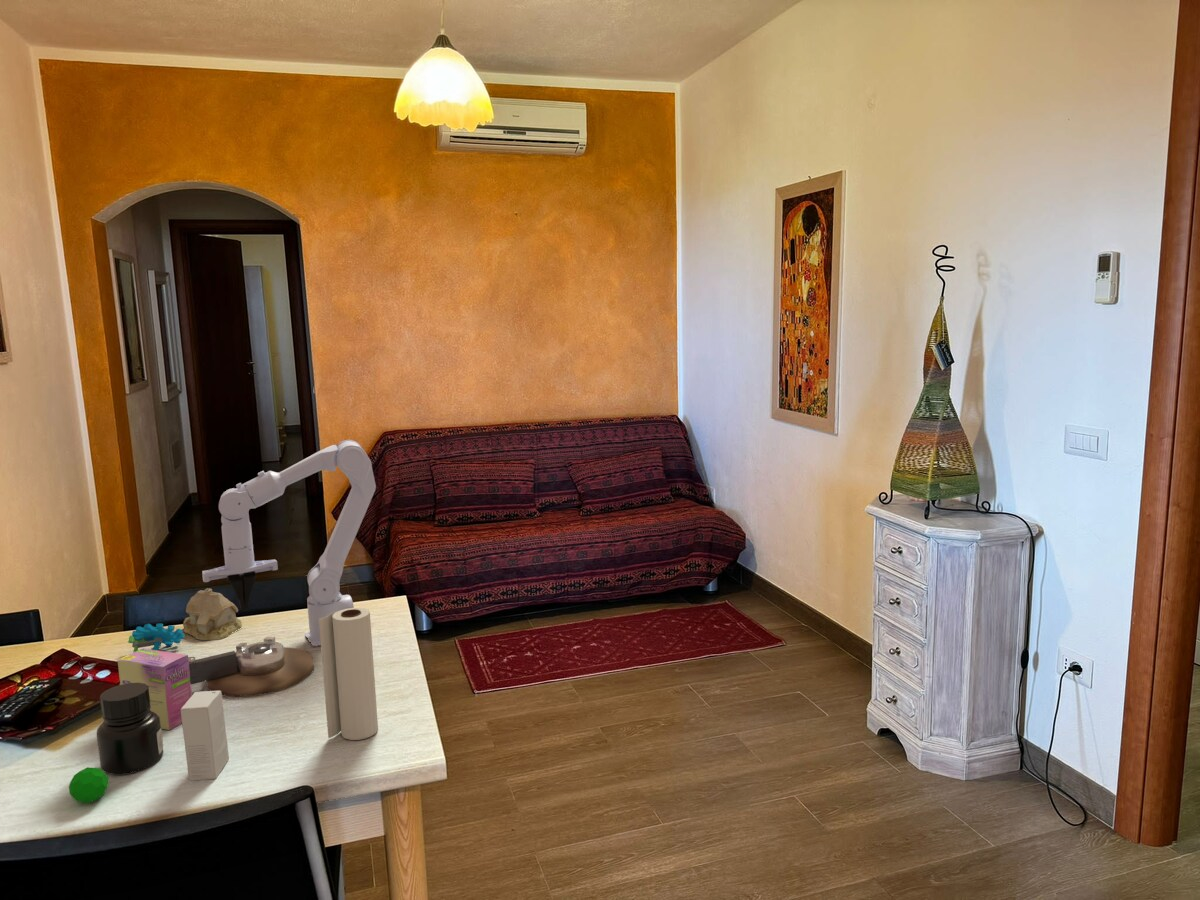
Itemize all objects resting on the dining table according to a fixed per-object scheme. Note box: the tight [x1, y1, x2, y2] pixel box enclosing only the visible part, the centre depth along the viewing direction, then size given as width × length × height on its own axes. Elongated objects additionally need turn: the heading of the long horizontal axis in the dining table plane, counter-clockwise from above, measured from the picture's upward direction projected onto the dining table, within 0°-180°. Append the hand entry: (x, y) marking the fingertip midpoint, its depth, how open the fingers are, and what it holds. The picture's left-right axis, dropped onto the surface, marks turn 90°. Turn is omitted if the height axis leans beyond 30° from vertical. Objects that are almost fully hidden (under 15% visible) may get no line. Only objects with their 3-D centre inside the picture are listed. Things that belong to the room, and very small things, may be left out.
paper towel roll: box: [319, 607, 379, 741], centre depth 143 cm, size 7×6×21 cm
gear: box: [128, 623, 185, 653], centre depth 180 cm, size 11×6×10 cm
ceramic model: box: [182, 587, 243, 641], centre depth 193 cm, size 14×11×10 cm
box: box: [117, 648, 193, 731], centre depth 150 cm, size 10×6×12 cm, turn 71°
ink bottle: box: [96, 683, 164, 775], centre depth 136 cm, size 10×9×12 cm
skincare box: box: [181, 690, 230, 782], centre depth 132 cm, size 6×4×12 cm
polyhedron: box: [68, 766, 110, 804], centre depth 126 cm, size 5×5×5 cm
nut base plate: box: [205, 646, 315, 697], centre depth 169 cm, size 20×20×2 cm
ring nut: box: [188, 636, 285, 685], centre depth 166 cm, size 18×9×5 cm, turn 126°
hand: (244, 607), depth 180 cm, fingers closed
